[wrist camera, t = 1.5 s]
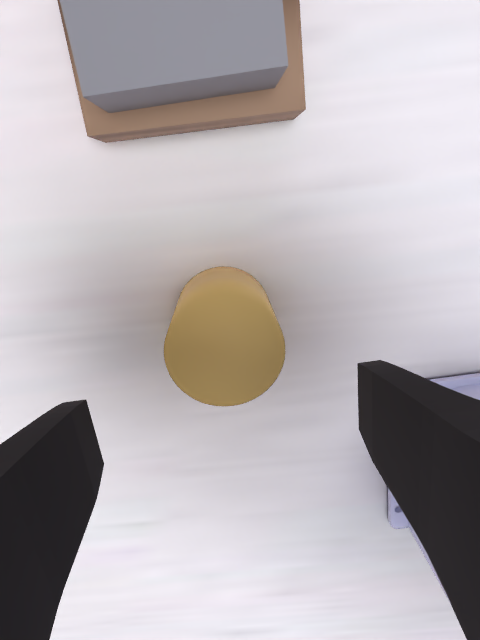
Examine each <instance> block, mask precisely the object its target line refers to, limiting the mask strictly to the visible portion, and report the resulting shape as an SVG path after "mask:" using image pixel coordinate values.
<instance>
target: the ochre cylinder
mask: <svg viewBox="0 0 480 640" xmlns="http://www.w3.org/2000/svg"><path fill="white" fill-rule="evenodd" d="M164 358H165V363H166V367H167V370H168V372H169V374H170V376H171V378H172V379H173V381H174V382H175V384H176V385H177V386H178V387H179V388H180V389H181V390H182V391H183V392H184V393H186V394H187V395H188V396H190V397H192V398H193V399H195V400H197V401H200V402H202V403H205V404H209V405H215V406H234V405H239V404H243V403H246V402H248V401H251V400H253V399H255V398H257V397H258V396H260V395H261V394H263V393H264V392H265V391H266V390H267V389H268V388H269V387H270V386H271V385H272V384H273V383H274V382H275V380H276V379H277V377H278V375H279V374H280V371H281V369H282V367H283V363H284V359H285V341H284V337H283V333H282V330H281V328H280V326H279V323H278V321H277V319H276V316H275V314H274V311H273V309H272V307H271V304H270V302H269V300H268V297H267V295H266V293H265V291H264V289H263V287H262V286H261V284H260V283H259V282H258V281H257V280H256V279H255V278H254V277H253V276H251V275H250V274H248V273H246V272H244V271H242V270H240V269H237V268H232V267H214V268H210V269H207V270H204V271H202V272H200V273H199V274H197V275H196V276H194V277H193V278H192V279H191V280H190V281H189V282H188V283H187V284H186V285H185V287H184V288H183V290H182V292H181V294H180V297H179V300H178V303H177V305H176V308H175V311H174V314H173V317H172V320H171V323H170V326H169V329H168V332H167V335H166V338H165V344H164Z"/></svg>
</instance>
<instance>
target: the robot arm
mask: <svg viewBox="0 0 480 640" xmlns="http://www.w3.org/2000/svg"><path fill="white" fill-rule="evenodd" d="M358 409H359V430H360V433H361V435H362V438H363V440H364V443H365V445H366V447H367V450H368V452H369V454H370V456H371V459H372V461H373V463H374V464H375V466H376V468H377V470H378V471H379V473H380V475H381V476H382V478H383V480H384V481H385V483H386V485H387V486H388V520H389V523H390V525H391V526H392V527H393V528H395V529H400V528H408V527H409V529H410V531H411V532H412V534H413V536H414V538H415V540H416V542H417V543H418V545H419V547H420V549H421V551H422V552H423V554H424V556H425V558H426V560H427V562H428V563H429V565H430V567H431V569H432V571H433V573H434V574H435V576H436V578H437V580H438V582H439V584H440V585H441V587H442V589H443V591H444V593H445V594H446V596H447V598H448V600H449V602H450V604H451V605H452V608H453V610H454V612H455V614H456V616H457V619H458V621H459V623H460V625H461V627H462V630H463V632H464V634H465V636H466V638H467V640H480V373H476V374H468V375H460V376H453V377H445V378H437V379H430V380H428V379H426V378H423V377H421V376H419V375H416V374H414V373H412V372H410V371H407V370H405V369H403V368H400V367H398V366H395V365H393V364H390V363H388V362H385V361H381V360H378V361H371V362H363V363H358ZM103 466H104V462H103V459H102V455H101V451H100V448H99V444H98V441H97V437H96V433H95V430H94V426H93V423H92V419H91V415H90V412H89V408H88V405H87V401H86V400H80V401H72V402H65V403H61V404H60V405H58V406H56V407H54V408H53V409H51V410H49V411H48V412H46V413H45V414H43V415H42V416H40V417H39V418H37V419H36V420H35V421H33V422H32V423H30V424H29V425H27V426H26V427H25V428H23V429H22V430H20V431H19V432H17V433H16V434H15V435H13V436H12V437H10V438H9V439H7V440H6V441H5V442H3V443H2V444H0V640H49V639H50V635H51V631H52V627H53V624H54V620H55V616H56V612H57V609H58V605H59V602H60V599H61V596H62V593H63V590H64V587H65V584H66V581H67V579H68V576H69V573H70V571H71V568H72V565H73V563H74V560H75V557H76V554H77V552H78V549H79V546H80V544H81V541H82V538H83V536H84V533H85V530H86V527H87V525H88V522H89V519H90V516H91V514H92V511H93V508H94V505H95V502H96V499H97V495H98V490H99V486H100V482H101V477H102V471H103ZM397 506H399V507H397ZM396 507H397V508H396Z"/></svg>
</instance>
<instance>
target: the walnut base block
mask: <svg viewBox="0 0 480 640" xmlns="http://www.w3.org/2000/svg"><path fill="white" fill-rule="evenodd" d="M282 1H283V12H284V23H285V34H286V45H287V56H288V67H287V69H286V70H285V72H284V74H283V75H282V77H281V79H280V80H279V82H278V84H277V85H276V87H275V88H272V89H265V90H259V91H252V92H246V93H239V94H233V95H226V96H219V97H213V98H206V99H200V100H193V101H187V102H180V103H173V104H167V105H160V106H154V107H147V108H141V109H134V110H128V111H121V112H114V113H108V112H106V111H105V110H103V109H102V108H100V107H98V106H97V105H95V104H94V103H92V102H90V101H89V100H87V99H86V98H84V97H83V95H82V91H81V87H80V82H79V78H78V74H77V70H76V66H75V62H74V58H73V53H72V49H71V45H70V41H69V37H68V33H67V29H66V24H65V20H64V16H63V12H62V8H61V4H60V0H58V4H59V9H60V14H61V18H62V23H63V27H64V32H65V36H66V41H67V45H68V50H69V54H70V59H71V63H72V68H73V73H74V77H75V82H76V86H77V91H78V95H79V100H80V104H81V109H82V113H83V118H84V122H85V127H86V132H87V136H88V137H91V138H94V139H97V140H100V141H102V142H105V143H107V142H115V141H123V140H131V139H139V138H147V137H155V136H163V135H171V134H179V133H187V132H195V131H203V130H212V129H220V128H228V127H236V126H244V125H252V124H260V123H268V122H276V121H284V120H292V119H295V118H296V117H297V116H298V115H299V114H301V113H302V112H303V111H304V110H305V109H306V106H305V89H304V72H303V55H302V38H301V21H300V4H299V0H282Z"/></svg>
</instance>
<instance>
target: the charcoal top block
mask: <svg viewBox="0 0 480 640" xmlns="http://www.w3.org/2000/svg"><path fill="white" fill-rule="evenodd" d="M60 4H61V8H62V12H63V16H64V20H65V24H66V29H67V33H68V37H69V41H70V45H71V49H72V53H73V58H74V62H75V66H76V70H77V74H78V78H79V82H80V87H81V91H82V95H83V97H84V98H86V99H87V100H89V101H90V102H92V103H94V104H95V105H97V106H98V107H100V108H102V109H103V110H105V111H106V112H108V113H114V112H121V111H128V110H134V109H141V108H147V107H154V106H160V105H167V104H173V103H180V102H187V101H193V100H200V99H206V98H213V97H219V96H226V95H233V94H239V93H246V92H252V91H259V90H265V89H272V88H275V87H276V85H277V84H278V82H279V80H280V79H281V77H282V75H283V74H284V72H285V70H286V69H287V67H288V56H287V45H286V34H285V23H284V12H283V1H282V0H60Z"/></svg>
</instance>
